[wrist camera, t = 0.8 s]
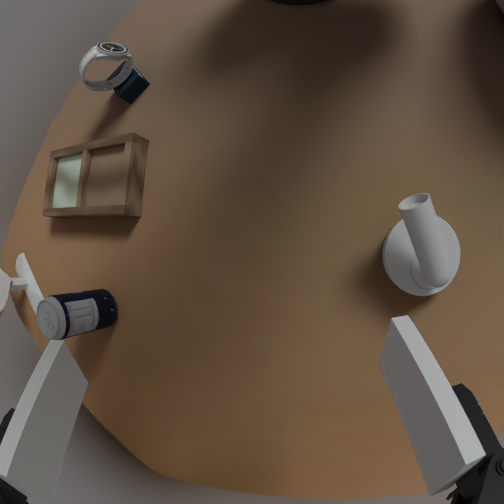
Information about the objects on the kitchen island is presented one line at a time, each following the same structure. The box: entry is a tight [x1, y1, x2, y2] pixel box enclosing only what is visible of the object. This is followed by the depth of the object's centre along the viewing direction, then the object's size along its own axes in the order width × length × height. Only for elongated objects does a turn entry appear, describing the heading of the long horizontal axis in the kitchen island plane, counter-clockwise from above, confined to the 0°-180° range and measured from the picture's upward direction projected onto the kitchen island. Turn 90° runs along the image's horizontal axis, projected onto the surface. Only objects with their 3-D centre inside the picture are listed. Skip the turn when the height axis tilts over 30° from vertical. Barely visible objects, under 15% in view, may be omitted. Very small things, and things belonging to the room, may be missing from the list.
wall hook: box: [382, 193, 460, 296], centre depth 27 cm, size 9×10×10 cm
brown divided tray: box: [43, 133, 149, 218], centre depth 43 cm, size 11×19×4 cm, turn 87°
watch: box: [79, 42, 150, 104], centre depth 38 cm, size 6×8×11 cm
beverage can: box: [36, 289, 117, 340], centre depth 38 cm, size 6×6×12 cm
